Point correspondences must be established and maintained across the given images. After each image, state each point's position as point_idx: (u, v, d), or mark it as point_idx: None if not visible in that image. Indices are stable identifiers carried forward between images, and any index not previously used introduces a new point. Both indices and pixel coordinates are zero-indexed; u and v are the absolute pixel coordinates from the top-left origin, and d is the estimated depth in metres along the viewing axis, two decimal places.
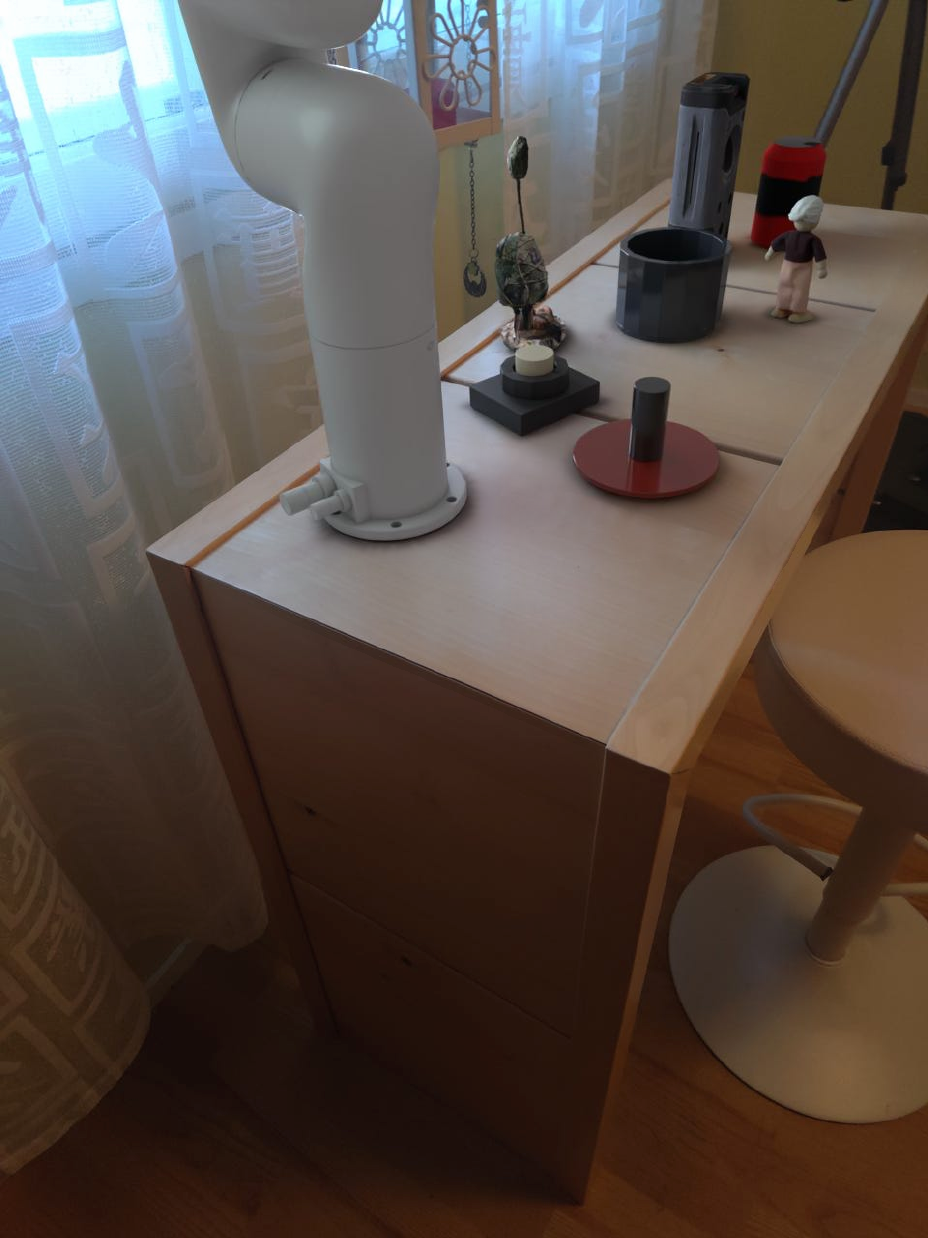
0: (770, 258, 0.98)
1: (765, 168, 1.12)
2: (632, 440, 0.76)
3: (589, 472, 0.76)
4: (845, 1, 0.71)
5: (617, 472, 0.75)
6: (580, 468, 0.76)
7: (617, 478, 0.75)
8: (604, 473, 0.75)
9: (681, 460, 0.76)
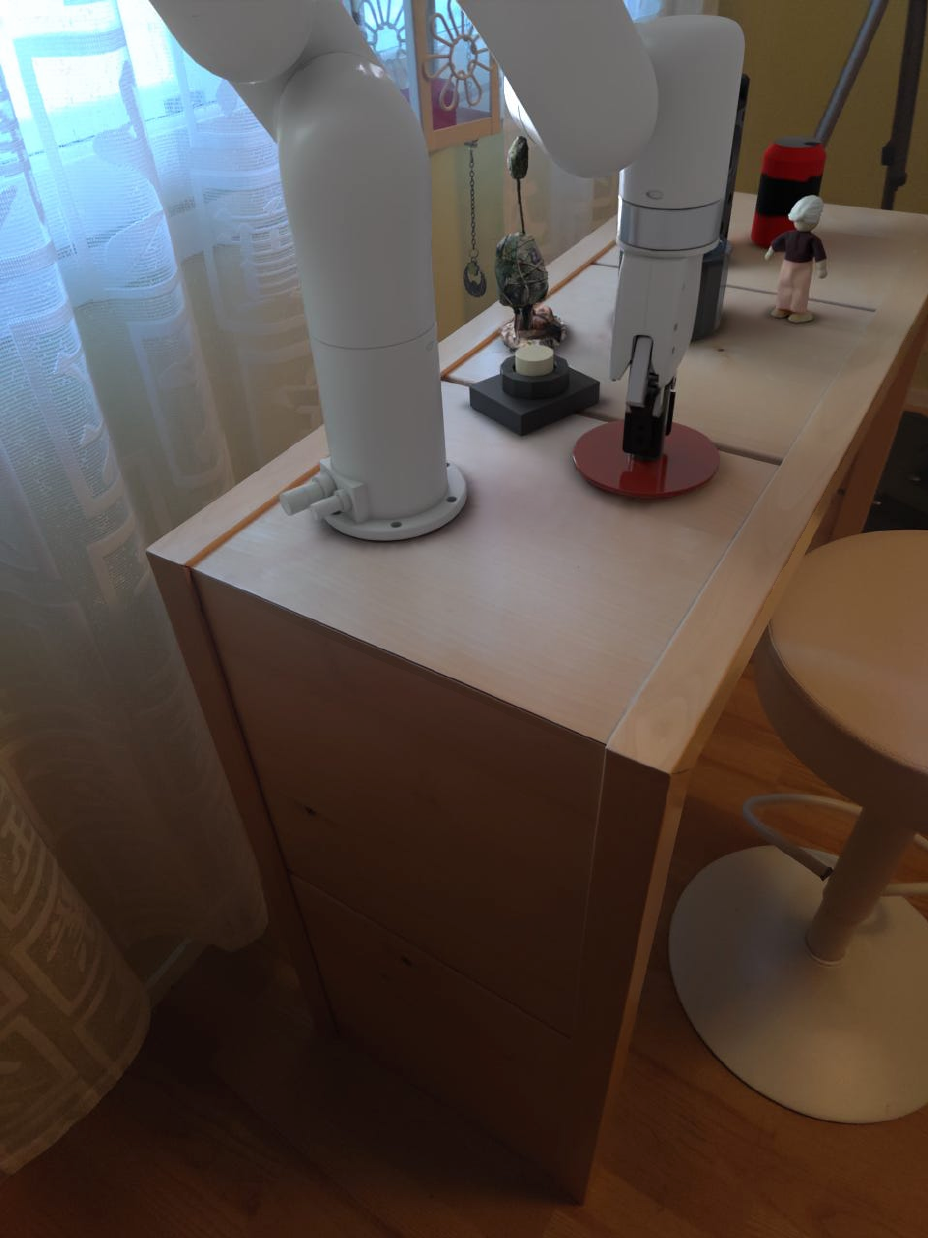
0: (770, 258, 0.98)
1: (765, 168, 1.12)
2: None
3: (589, 472, 0.76)
4: None
5: (617, 472, 0.75)
6: (580, 468, 0.76)
7: (617, 478, 0.75)
8: (604, 473, 0.75)
9: (681, 460, 0.76)
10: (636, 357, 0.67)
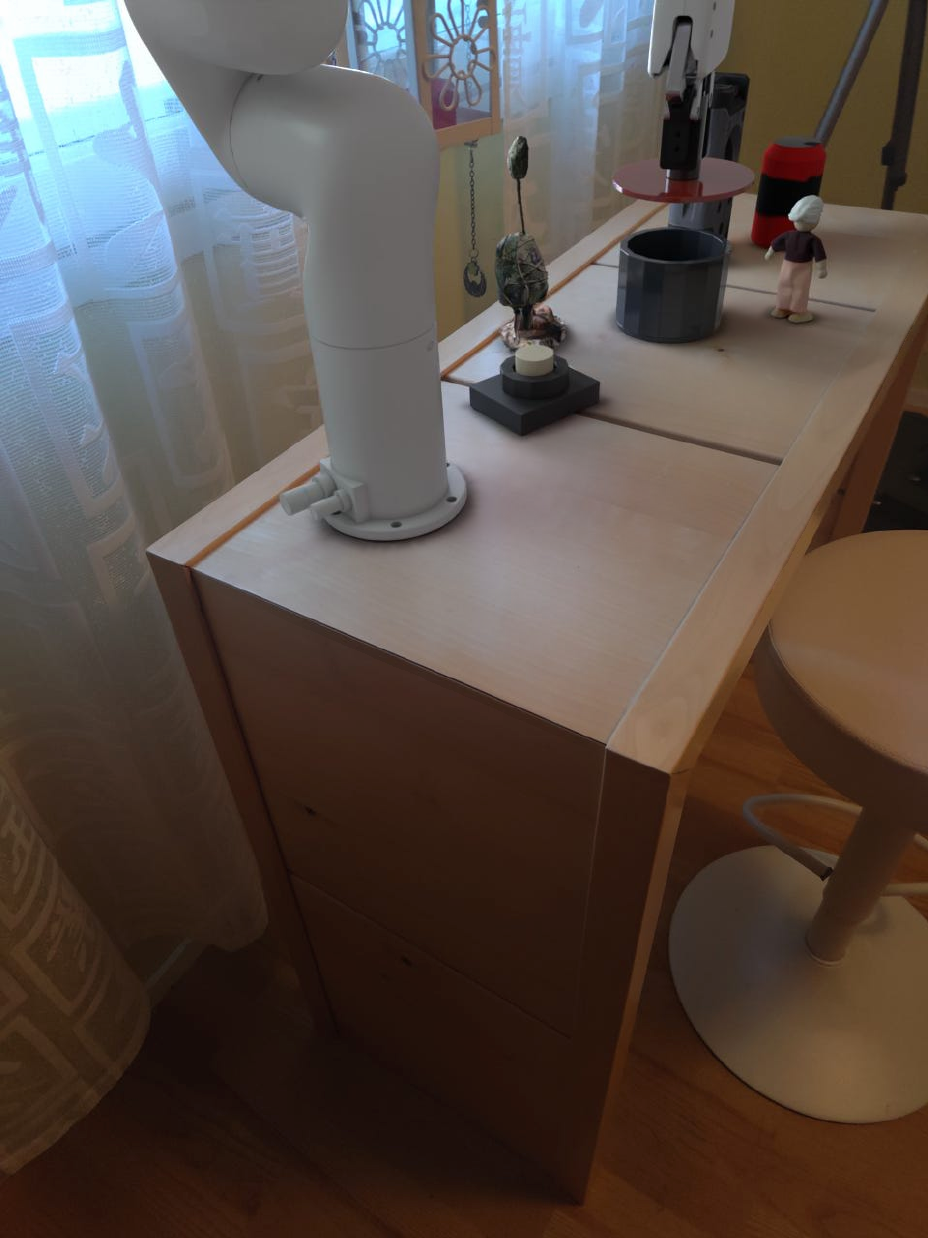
0: (770, 258, 0.98)
1: (765, 168, 1.12)
2: None
3: (628, 187, 0.79)
4: None
5: (655, 187, 0.78)
6: (620, 185, 0.79)
7: (656, 190, 0.78)
8: (643, 187, 0.78)
9: (718, 178, 0.79)
10: (676, 42, 0.70)
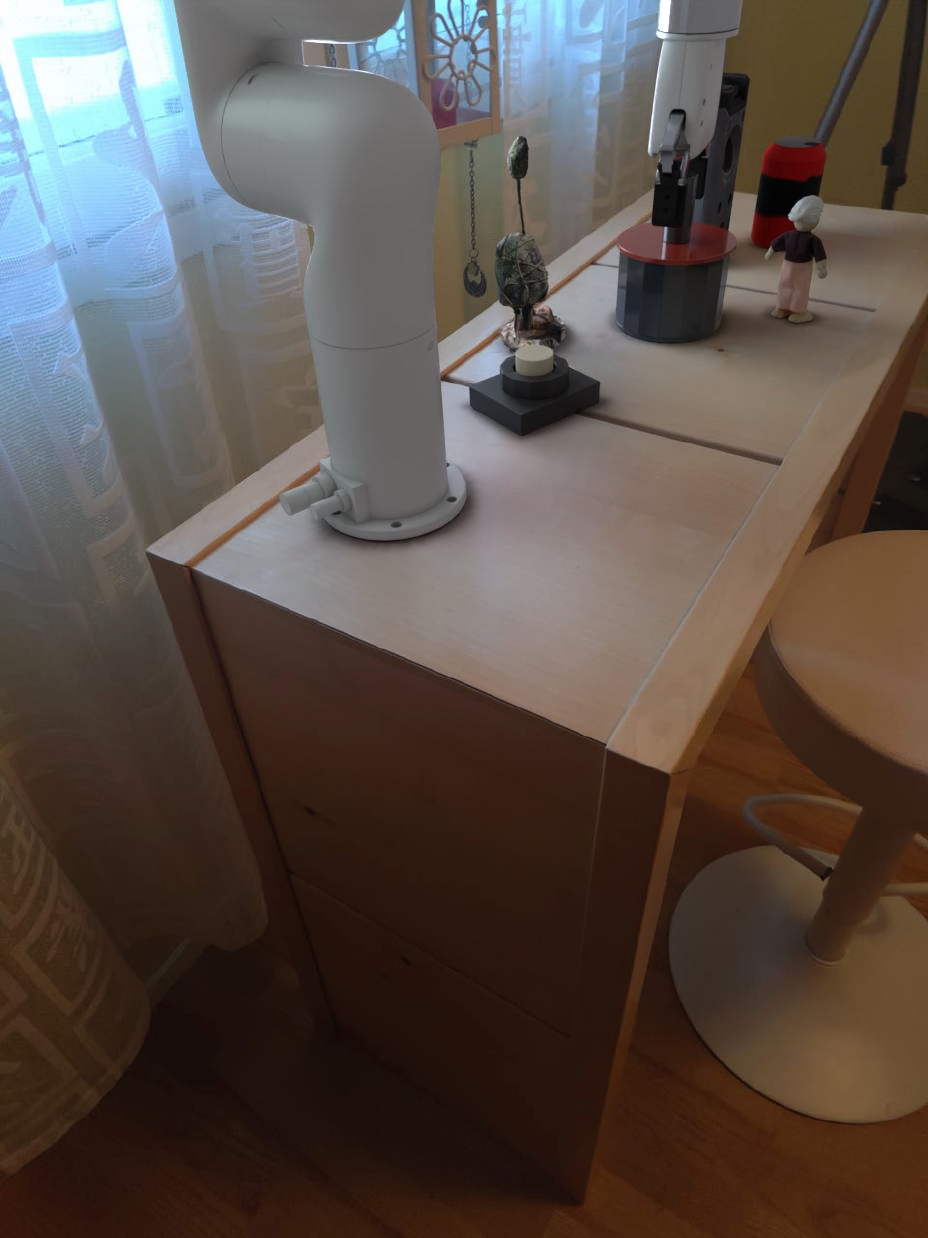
0: (770, 258, 0.98)
1: (765, 168, 1.12)
2: None
3: (631, 250, 0.93)
4: None
5: (654, 250, 0.93)
6: (624, 248, 0.94)
7: (654, 253, 0.92)
8: (643, 250, 0.93)
9: (706, 242, 0.94)
10: (672, 118, 0.83)
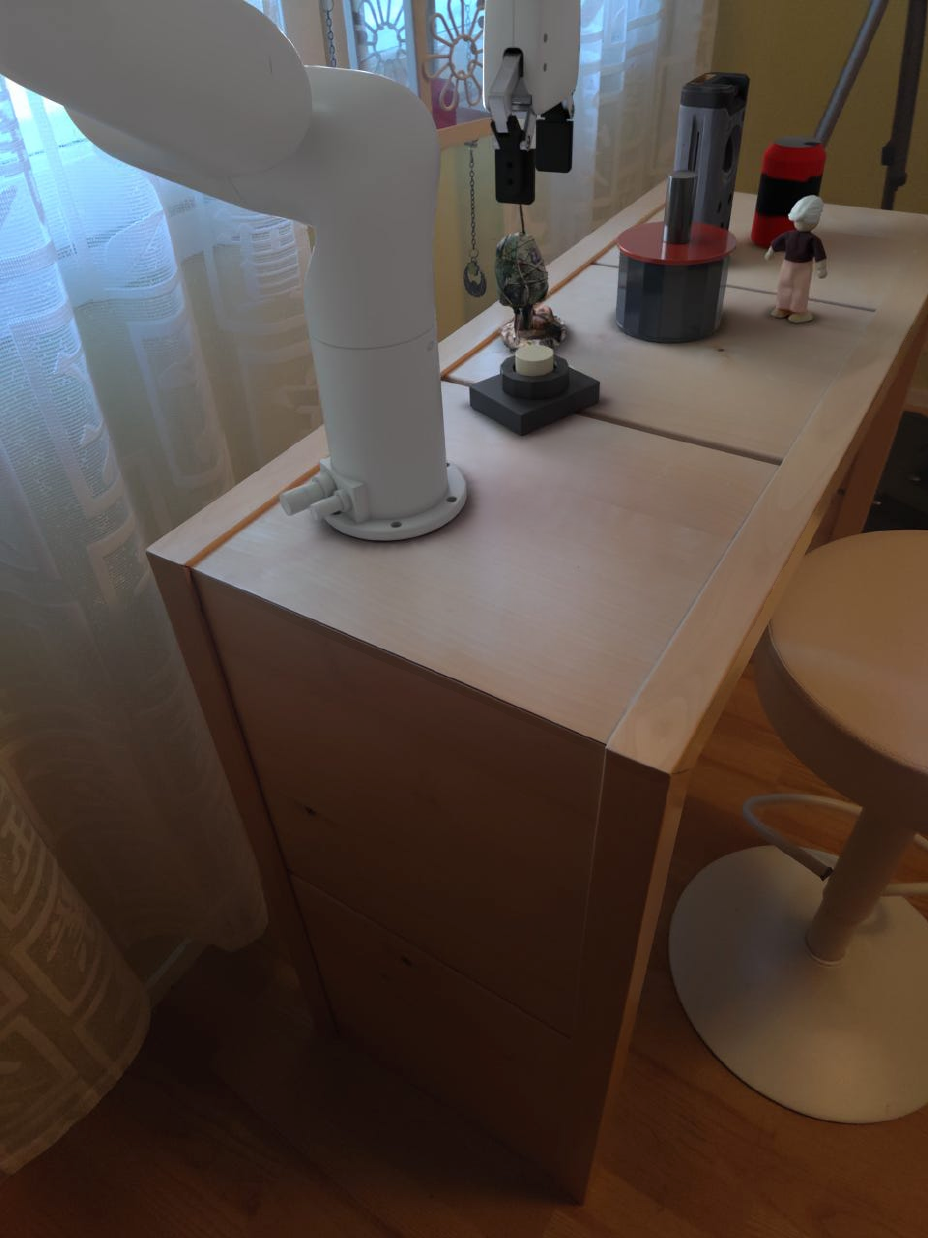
0: (770, 258, 0.98)
1: (765, 168, 1.12)
2: (665, 226, 0.94)
3: (631, 250, 0.93)
4: (501, 202, 0.71)
5: (654, 250, 0.93)
6: (624, 248, 0.94)
7: (654, 253, 0.92)
8: (643, 250, 0.93)
9: (706, 242, 0.94)
10: (505, 60, 0.64)
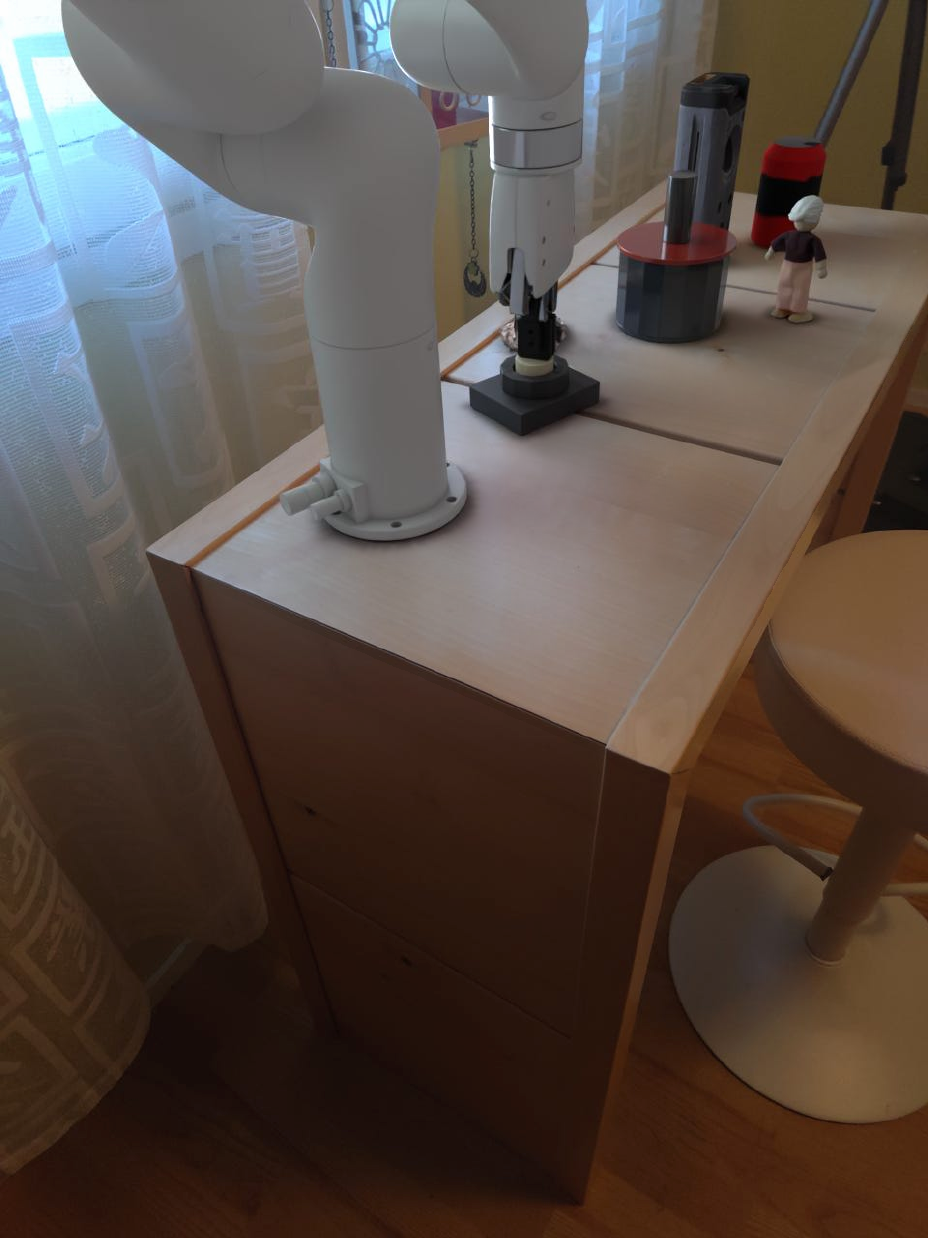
0: (770, 258, 0.98)
1: (765, 168, 1.12)
2: (665, 226, 0.94)
3: (631, 250, 0.93)
4: None
5: (654, 250, 0.93)
6: (624, 248, 0.94)
7: (654, 253, 0.92)
8: (643, 250, 0.93)
9: (706, 242, 0.94)
10: (513, 271, 0.75)
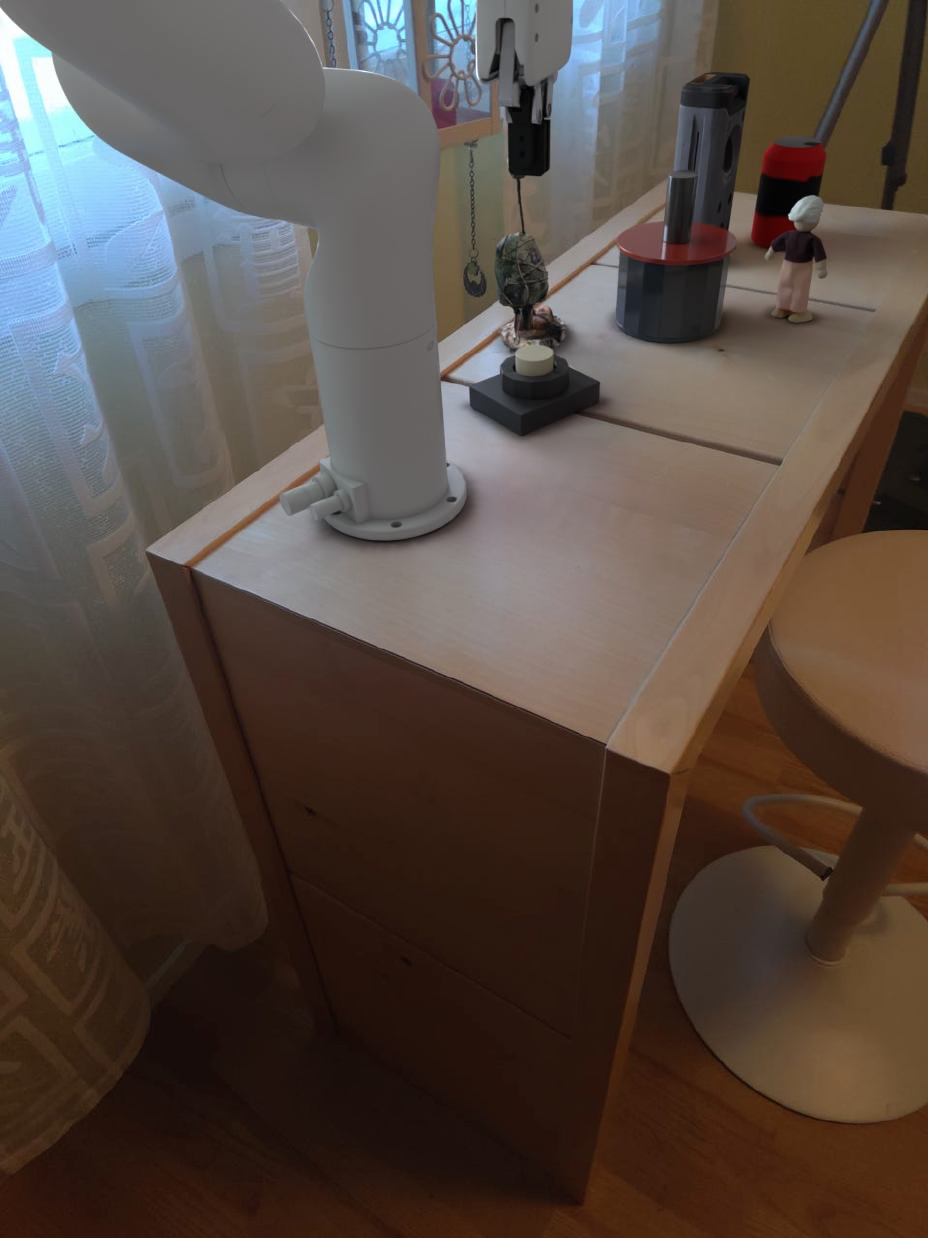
0: (770, 258, 0.98)
1: (765, 168, 1.12)
2: (665, 226, 0.94)
3: (631, 250, 0.93)
4: (514, 174, 0.76)
5: (654, 250, 0.93)
6: (624, 248, 0.94)
7: (654, 253, 0.92)
8: (643, 250, 0.93)
9: (706, 242, 0.94)
10: (502, 50, 0.67)
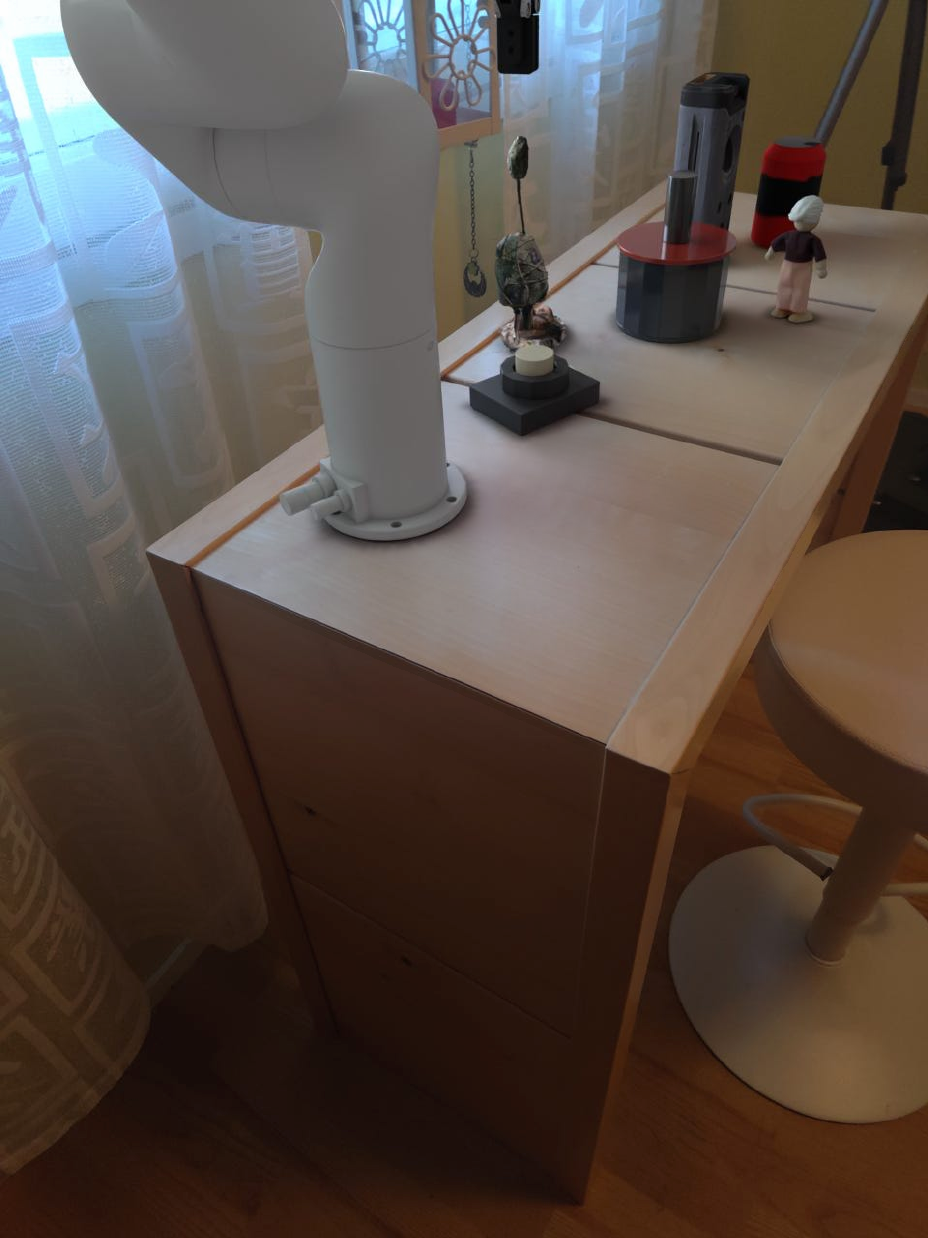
0: (770, 258, 0.98)
1: (765, 168, 1.12)
2: (665, 226, 0.94)
3: (631, 250, 0.93)
4: (503, 73, 0.76)
5: (654, 250, 0.93)
6: (624, 248, 0.94)
7: (654, 253, 0.92)
8: (643, 250, 0.93)
9: (706, 242, 0.94)
10: None
